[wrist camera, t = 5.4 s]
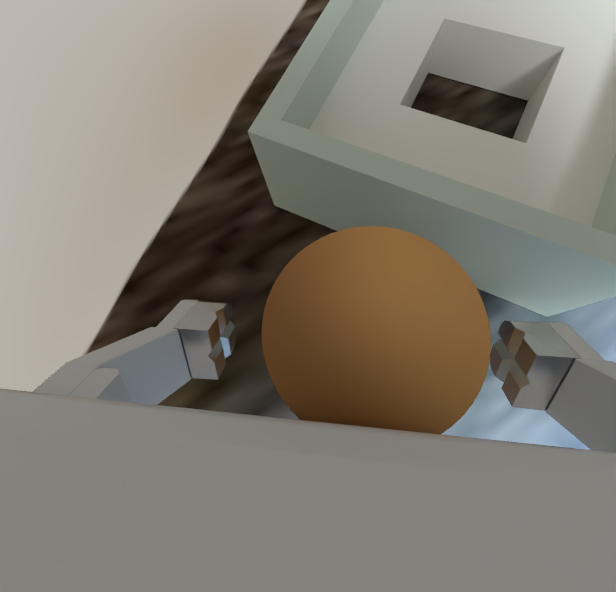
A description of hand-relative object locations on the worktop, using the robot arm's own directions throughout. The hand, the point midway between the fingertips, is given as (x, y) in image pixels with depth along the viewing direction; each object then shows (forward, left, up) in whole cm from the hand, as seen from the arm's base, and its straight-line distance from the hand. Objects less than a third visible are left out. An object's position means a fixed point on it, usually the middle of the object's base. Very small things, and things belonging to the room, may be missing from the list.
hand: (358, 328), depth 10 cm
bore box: (-12, -8, -6) cm, 16 cm away
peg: (0, +1, -6) cm, 6 cm away
